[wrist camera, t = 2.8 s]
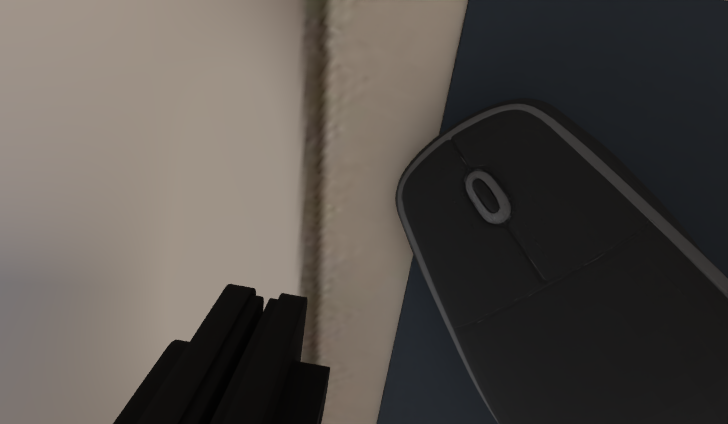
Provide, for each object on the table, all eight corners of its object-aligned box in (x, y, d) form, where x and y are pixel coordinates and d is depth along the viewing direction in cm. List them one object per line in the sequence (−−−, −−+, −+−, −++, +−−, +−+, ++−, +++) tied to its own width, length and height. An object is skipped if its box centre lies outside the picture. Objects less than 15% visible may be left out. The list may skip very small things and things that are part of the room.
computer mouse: (567, 35, 11) (640, 52, 8) (770, 373, 15) (888, 497, 11) (341, 196, 14) (314, 269, 10) (559, 458, 17) (600, 585, 13)
